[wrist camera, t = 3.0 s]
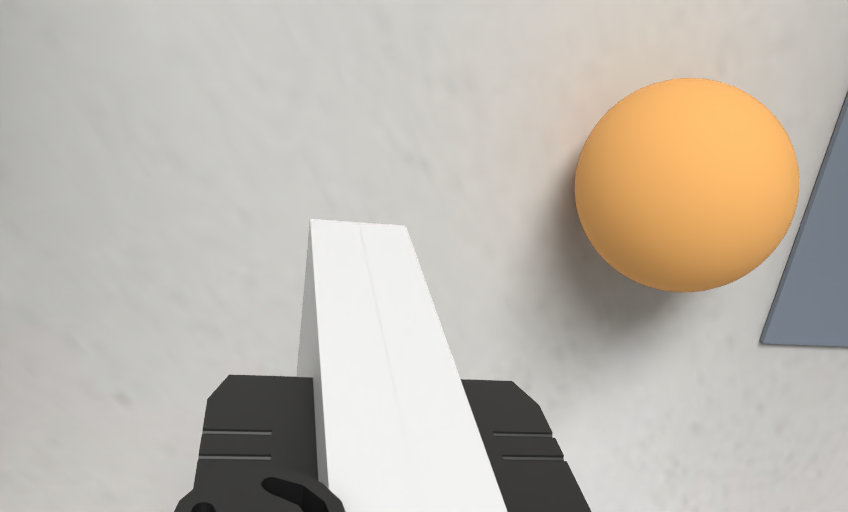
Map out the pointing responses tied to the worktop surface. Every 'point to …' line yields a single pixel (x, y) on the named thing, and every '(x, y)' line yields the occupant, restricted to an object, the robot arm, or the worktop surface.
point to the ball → (687, 185)
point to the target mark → (818, 260)
